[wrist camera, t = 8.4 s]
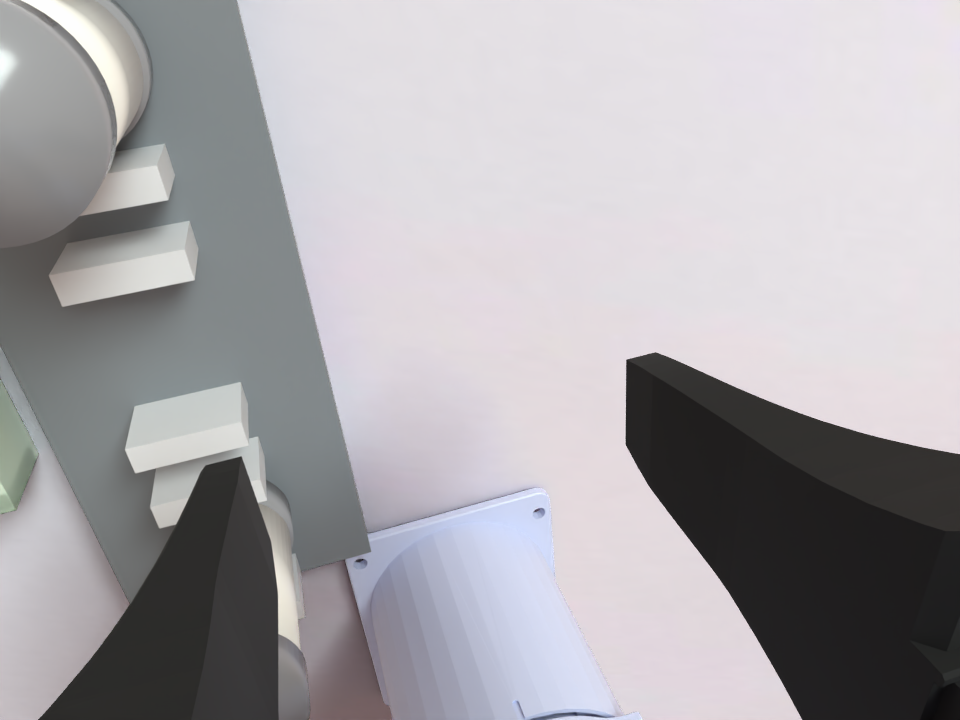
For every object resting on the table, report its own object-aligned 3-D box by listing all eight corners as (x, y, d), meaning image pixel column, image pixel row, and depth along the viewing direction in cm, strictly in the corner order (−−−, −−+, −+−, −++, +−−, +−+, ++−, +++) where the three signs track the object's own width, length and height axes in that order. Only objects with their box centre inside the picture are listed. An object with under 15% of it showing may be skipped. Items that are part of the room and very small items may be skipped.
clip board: (366, 529, 27) (381, 597, 24) (140, 592, 26) (129, 671, 23) (210, -107, 17) (205, -119, 14) (-178, -67, 16) (-271, -71, 13)
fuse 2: (302, 544, 25) (324, 742, 19) (193, 573, 25) (179, 789, 18) (276, 461, 23) (291, 649, 17) (158, 491, 23) (128, 699, 16)
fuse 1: (173, 129, 18) (140, 223, 12) (15, 154, 17) (-109, 270, 11) (122, -37, 16) (50, -30, 10) (-56, -15, 16) (-254, 7, 9)
